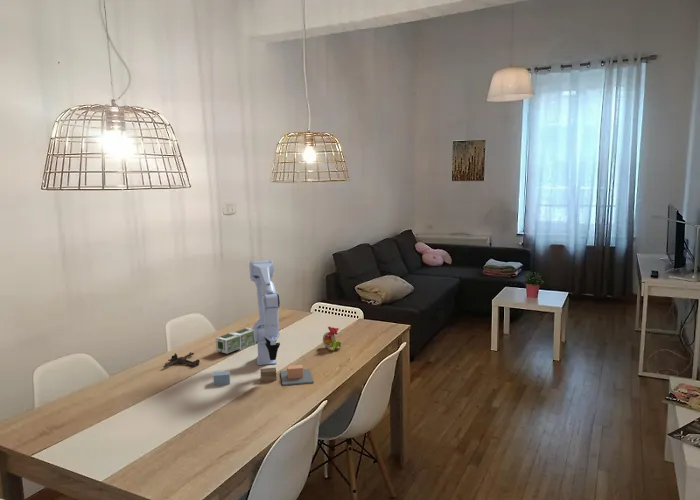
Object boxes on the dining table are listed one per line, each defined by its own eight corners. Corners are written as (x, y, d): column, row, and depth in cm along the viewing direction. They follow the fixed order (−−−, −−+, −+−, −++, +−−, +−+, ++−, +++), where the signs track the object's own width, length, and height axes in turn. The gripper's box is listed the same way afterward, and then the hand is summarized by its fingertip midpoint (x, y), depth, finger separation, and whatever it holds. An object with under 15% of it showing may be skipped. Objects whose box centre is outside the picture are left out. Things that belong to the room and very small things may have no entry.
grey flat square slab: (280, 372, 213) (280, 371, 213) (309, 370, 216) (309, 368, 216) (282, 385, 201) (282, 384, 201) (313, 383, 203) (313, 381, 203)
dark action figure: (181, 367, 212) (155, 358, 218) (181, 377, 213) (155, 368, 219) (211, 353, 228) (185, 345, 234) (210, 362, 229) (185, 354, 235)
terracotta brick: (287, 375, 209) (287, 365, 209) (302, 374, 210) (301, 364, 210) (288, 378, 206) (287, 369, 205) (303, 377, 207) (303, 367, 206)
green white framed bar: (266, 332, 265) (266, 318, 264) (279, 335, 260) (278, 320, 259) (213, 352, 236) (213, 336, 235) (226, 356, 232) (226, 340, 231)
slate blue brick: (214, 381, 205) (214, 372, 204) (230, 380, 206) (229, 371, 205) (213, 385, 201) (213, 375, 201) (229, 384, 203) (229, 374, 202)
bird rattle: (323, 354, 240) (338, 350, 235) (315, 331, 241) (330, 326, 236) (330, 350, 245) (345, 346, 240) (322, 328, 246) (337, 323, 241)
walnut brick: (260, 378, 208) (260, 368, 208) (275, 376, 210) (275, 367, 209) (261, 381, 205) (260, 372, 204) (276, 380, 206) (276, 370, 206)
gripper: (260, 318, 213) (261, 350, 215) (262, 329, 199) (263, 363, 201) (277, 317, 214) (278, 349, 217) (280, 328, 200) (281, 362, 203)
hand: (272, 356), depth 209 cm, fingers open, 7 cm apart
